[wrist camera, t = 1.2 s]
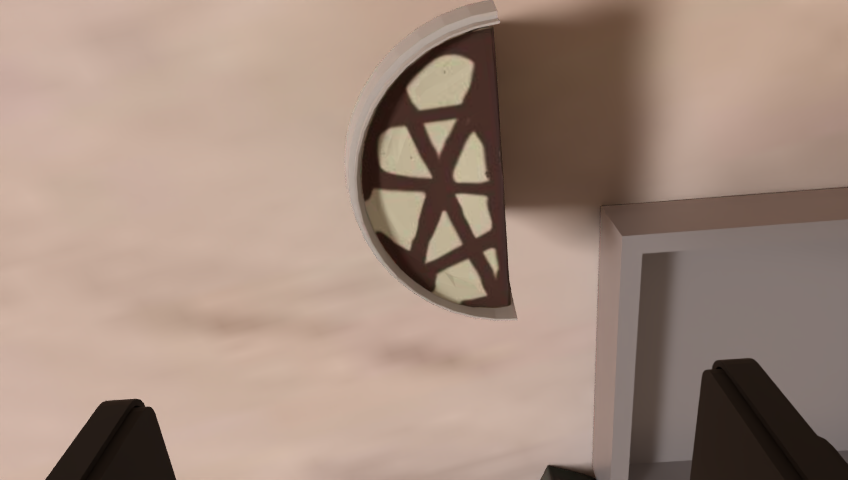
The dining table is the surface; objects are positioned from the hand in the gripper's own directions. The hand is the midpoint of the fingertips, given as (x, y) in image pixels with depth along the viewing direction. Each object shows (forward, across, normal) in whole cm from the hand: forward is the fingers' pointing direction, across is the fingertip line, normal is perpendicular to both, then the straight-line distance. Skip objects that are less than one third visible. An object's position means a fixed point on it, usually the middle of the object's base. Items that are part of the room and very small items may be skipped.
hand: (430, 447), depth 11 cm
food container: (+23, 0, 0) cm, 23 cm away
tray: (+23, -18, +14) cm, 32 cm away
